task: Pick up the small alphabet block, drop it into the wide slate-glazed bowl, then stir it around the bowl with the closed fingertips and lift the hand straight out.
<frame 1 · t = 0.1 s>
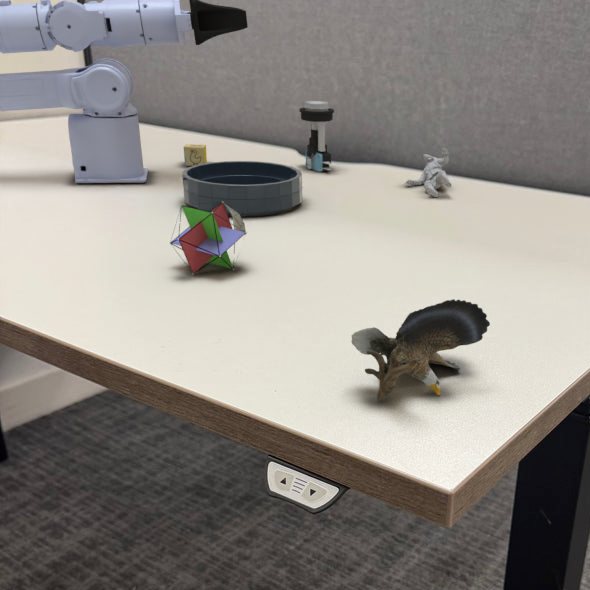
hand: (244, 18, 109), 22 cm above the table, tool horizontal, fingers open, 7 cm apart
alphabet block: (196, 166, 125), on the table
geometric puzzle: (210, 270, 80), on the table
bowl: (244, 203, 104), on the table
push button: (319, 170, 125), on the table
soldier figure: (433, 190, 117), on the table
eagle figurine: (418, 387, 59), on the table
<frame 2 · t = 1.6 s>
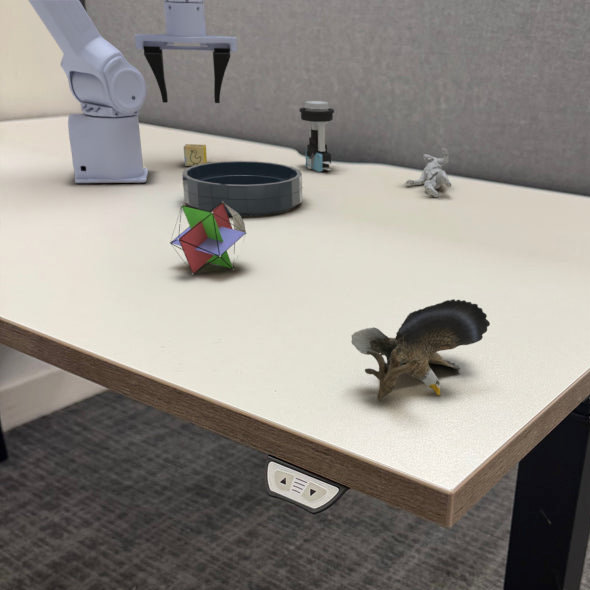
hand: (191, 102, 120), 9 cm above the table, tool pointing down, fingers open, 7 cm apart
nothing on the table moved.
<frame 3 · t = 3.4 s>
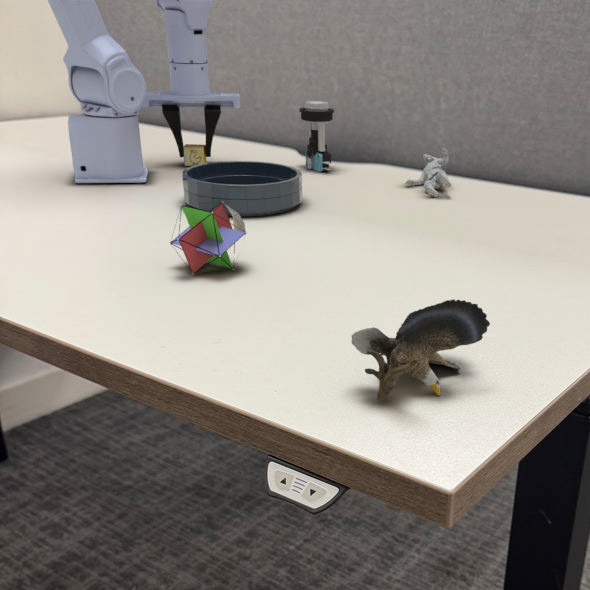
hand: (195, 155, 124), 1 cm above the table, tool pointing down, fingers closed on alphabet block, 3 cm apart
alphabet block: (196, 166, 125), on the table, touching gripper
everything else where it was.
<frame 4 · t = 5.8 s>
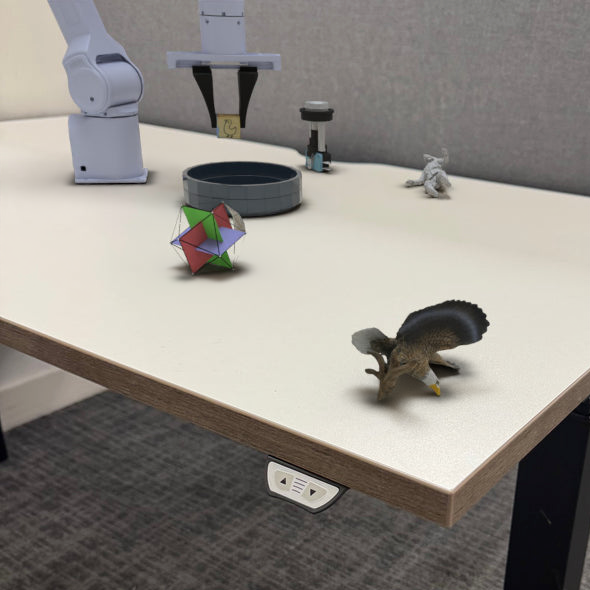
hand: (228, 127, 107), 8 cm above the table, tool pointing down, fingers closed on alphabet block, 3 cm apart
alphabet block: (228, 139, 108), point 7 cm above the table, touching gripper
everything else where it was.
when the fingers open (2 cm above the table, at t = 8.1 s): alphabet block stays where it is, resting on bowl.
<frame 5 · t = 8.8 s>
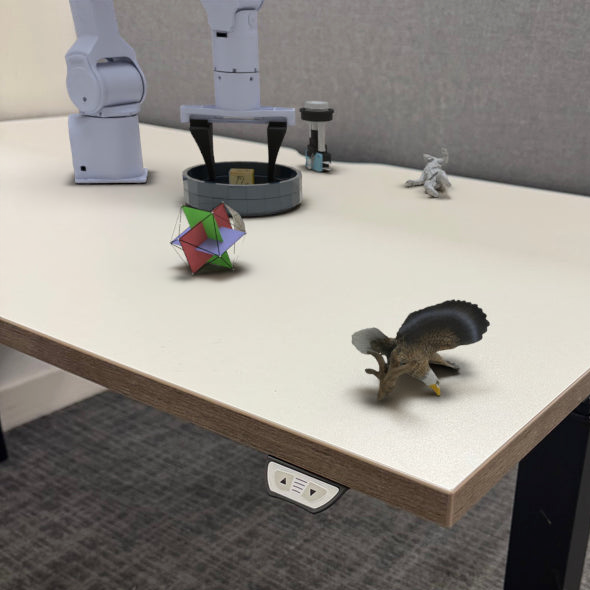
hand: (241, 179, 106), 2 cm above the table, tool pointing down, fingers open, 7 cm apart
alphabet block: (242, 194, 107), resting on bowl
everything else where it was.
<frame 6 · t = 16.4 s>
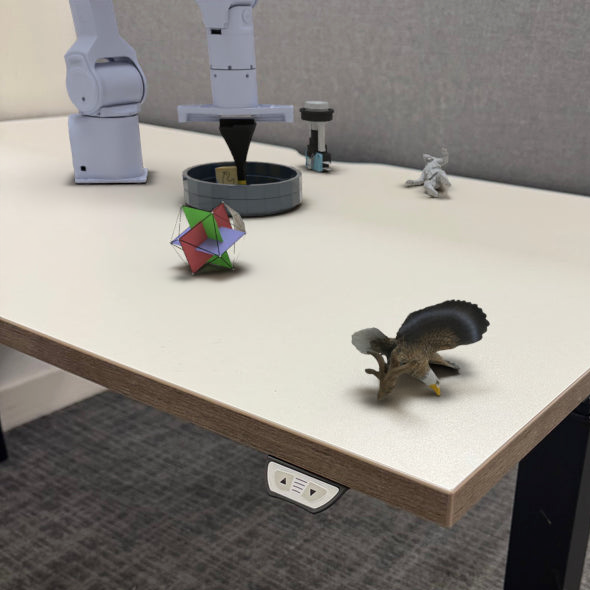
hand: (241, 179, 105), 3 cm above the table, tool pointing down, fingers closed, pressing on alphabet block
alphabet block: (232, 191, 107), point 1 cm above the table, touching bowl, gripper
everything else where it was.
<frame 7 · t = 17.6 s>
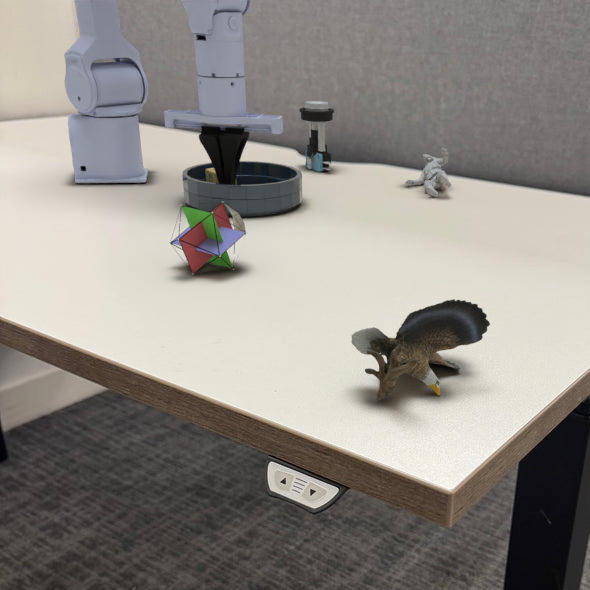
hand: (227, 188, 102), 2 cm above the table, tool pointing down, fingers closed
alphabet block: (222, 193, 107), resting on bowl
everything else where it was.
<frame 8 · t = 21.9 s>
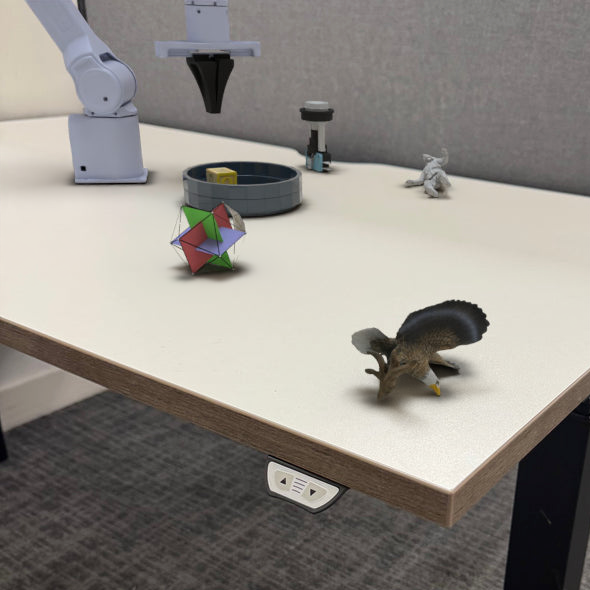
hand: (213, 112, 111), 9 cm above the table, tool pointing down, fingers closed
nothing on the table moved.
at the end: alphabet block inside the target area in the bowl (4.4 cm from its centre), point 0.4 cm above the bowl's base; the gripper is holding nothing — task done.
